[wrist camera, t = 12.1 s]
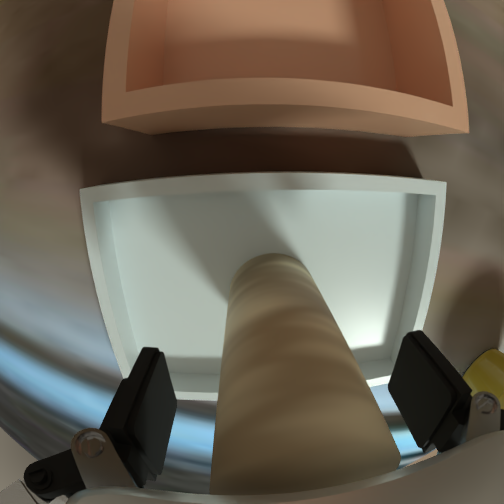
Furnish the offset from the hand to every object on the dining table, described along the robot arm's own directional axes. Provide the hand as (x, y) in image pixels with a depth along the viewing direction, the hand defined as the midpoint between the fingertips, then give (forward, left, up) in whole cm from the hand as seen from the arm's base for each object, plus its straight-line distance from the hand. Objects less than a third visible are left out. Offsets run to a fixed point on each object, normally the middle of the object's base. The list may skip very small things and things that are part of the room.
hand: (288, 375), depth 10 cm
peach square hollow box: (-1, -17, -8) cm, 19 cm away
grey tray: (0, 0, -8) cm, 8 cm away
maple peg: (0, 0, -7) cm, 7 cm away
